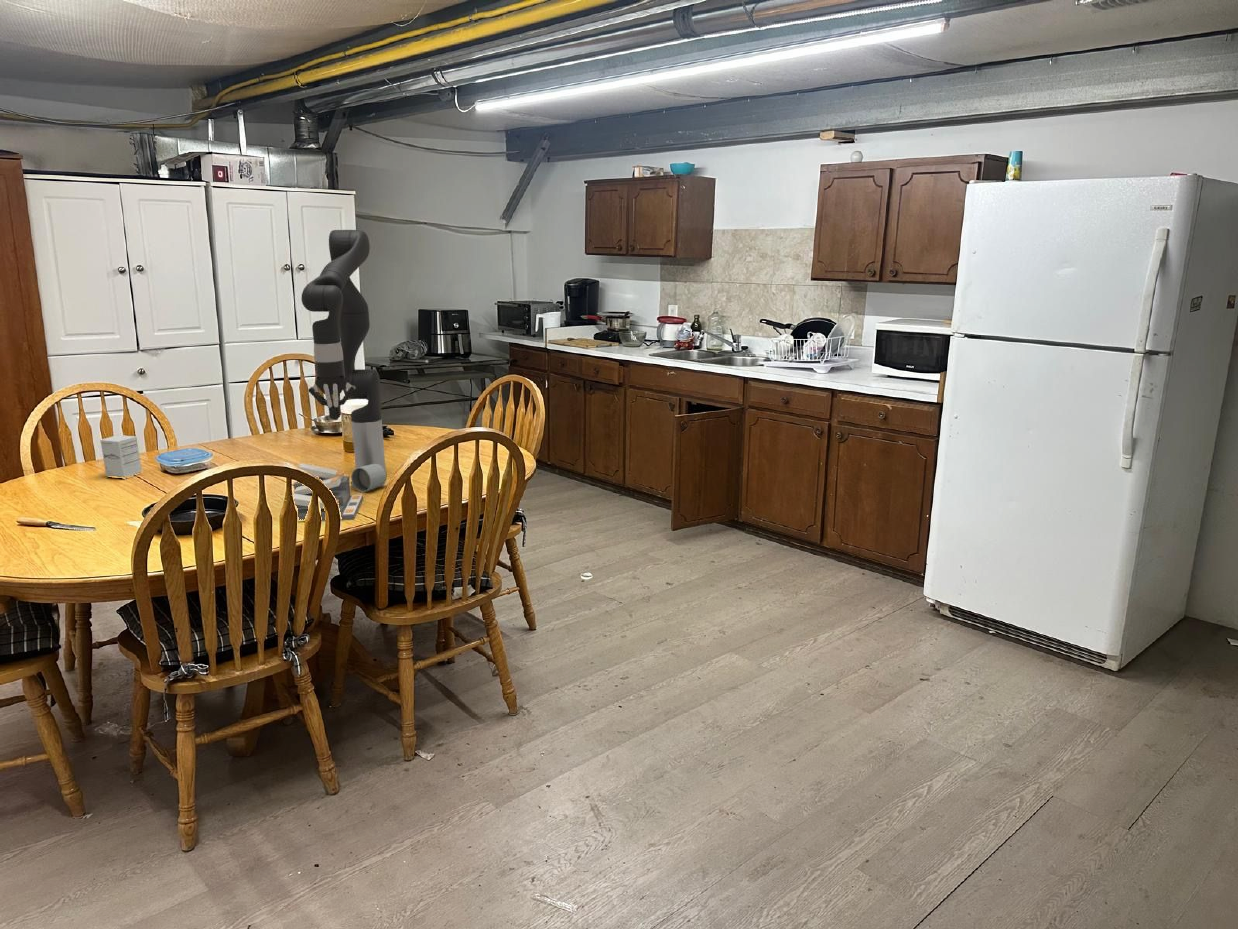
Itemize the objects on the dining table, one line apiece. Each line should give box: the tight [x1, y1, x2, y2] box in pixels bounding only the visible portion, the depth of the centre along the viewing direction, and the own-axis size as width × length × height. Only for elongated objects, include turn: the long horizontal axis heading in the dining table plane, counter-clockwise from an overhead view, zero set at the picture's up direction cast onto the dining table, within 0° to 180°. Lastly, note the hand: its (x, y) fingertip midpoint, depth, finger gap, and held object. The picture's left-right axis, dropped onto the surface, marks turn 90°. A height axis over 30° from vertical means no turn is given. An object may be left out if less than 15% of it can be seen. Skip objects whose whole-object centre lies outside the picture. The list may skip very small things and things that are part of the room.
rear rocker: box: [297, 462, 345, 480], centre depth 242 cm, size 4×12×2 cm, turn 98°
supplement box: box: [100, 434, 143, 478], centre depth 270 cm, size 7×7×13 cm
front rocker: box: [292, 493, 339, 509], centre depth 232 cm, size 4×12×2 cm, turn 98°
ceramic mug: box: [349, 464, 388, 493], centre depth 258 cm, size 11×8×8 cm
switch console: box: [293, 475, 364, 522], centre depth 238 cm, size 18×18×8 cm
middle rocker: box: [293, 476, 341, 495], centre depth 237 cm, size 4×12×2 cm, turn 98°
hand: (335, 419), depth 241 cm, fingers closed
